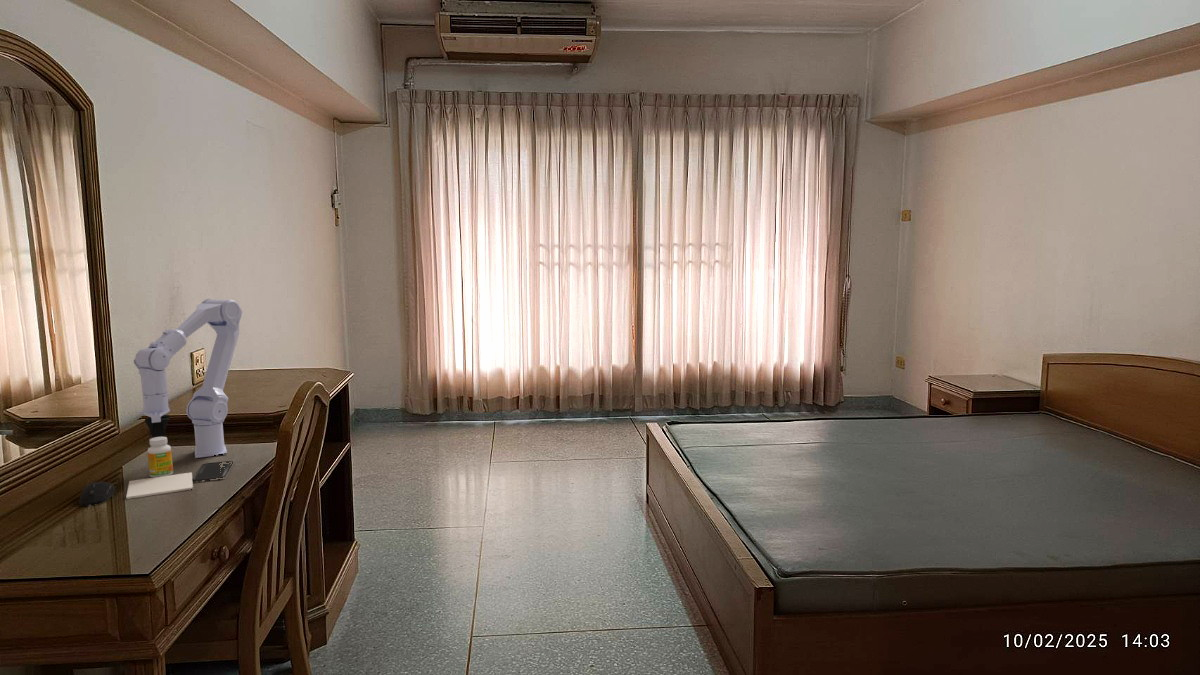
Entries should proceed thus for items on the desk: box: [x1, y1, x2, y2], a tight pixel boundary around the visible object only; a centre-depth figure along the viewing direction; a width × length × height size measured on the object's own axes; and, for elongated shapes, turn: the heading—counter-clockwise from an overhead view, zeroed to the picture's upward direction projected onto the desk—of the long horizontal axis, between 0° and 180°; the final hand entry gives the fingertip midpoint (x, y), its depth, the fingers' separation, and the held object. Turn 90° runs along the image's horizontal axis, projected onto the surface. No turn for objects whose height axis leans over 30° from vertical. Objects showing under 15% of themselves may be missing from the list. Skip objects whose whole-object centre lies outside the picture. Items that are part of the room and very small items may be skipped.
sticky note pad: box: [125, 471, 194, 500], centre depth 197 cm, size 14×14×1 cm
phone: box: [192, 460, 234, 483], centre depth 208 cm, size 8×1×15 cm
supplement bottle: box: [146, 436, 174, 478], centre depth 206 cm, size 5×5×10 cm
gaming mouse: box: [78, 480, 116, 508], centre depth 188 cm, size 6×15×4 cm, turn 19°
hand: (159, 443), depth 211 cm, fingers closed
